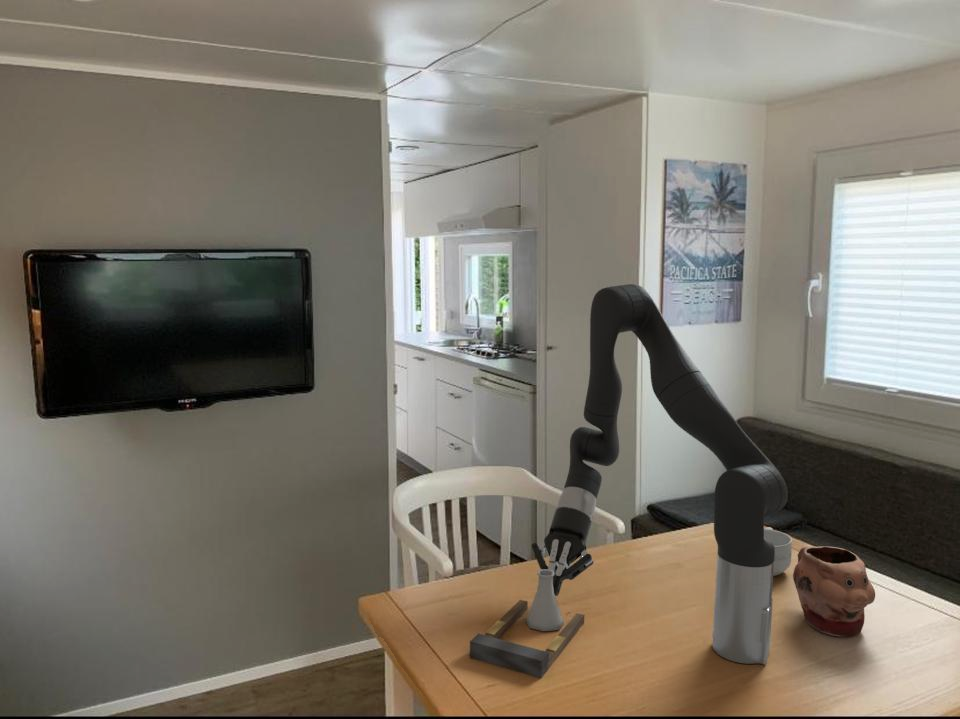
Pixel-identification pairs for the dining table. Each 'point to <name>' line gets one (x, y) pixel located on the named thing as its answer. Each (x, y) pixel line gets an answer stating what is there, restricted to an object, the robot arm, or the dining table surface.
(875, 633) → the dining table surface
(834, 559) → the decorative planter
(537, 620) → the flask
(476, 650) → the guide track
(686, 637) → the dining table surface
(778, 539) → the teacup
